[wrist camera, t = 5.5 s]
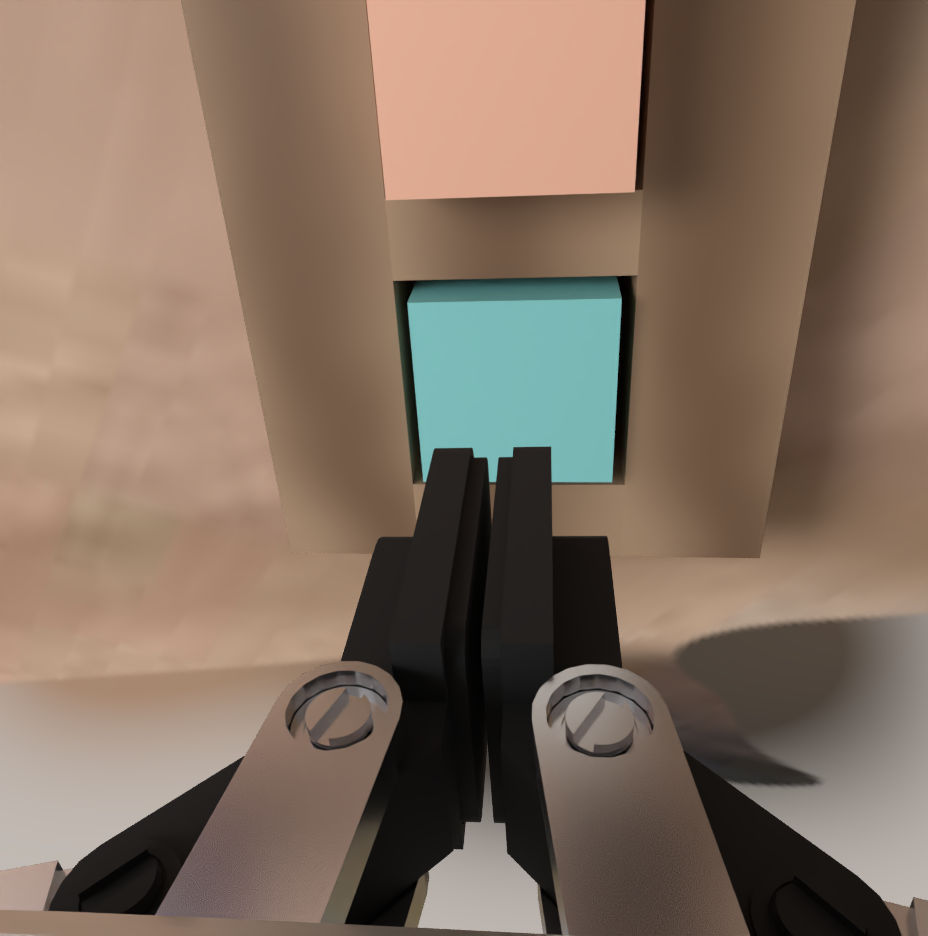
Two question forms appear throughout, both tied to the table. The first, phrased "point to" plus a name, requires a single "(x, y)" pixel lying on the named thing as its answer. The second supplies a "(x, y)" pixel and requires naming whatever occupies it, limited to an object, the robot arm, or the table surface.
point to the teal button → (518, 369)
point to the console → (528, 264)
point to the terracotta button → (507, 96)
